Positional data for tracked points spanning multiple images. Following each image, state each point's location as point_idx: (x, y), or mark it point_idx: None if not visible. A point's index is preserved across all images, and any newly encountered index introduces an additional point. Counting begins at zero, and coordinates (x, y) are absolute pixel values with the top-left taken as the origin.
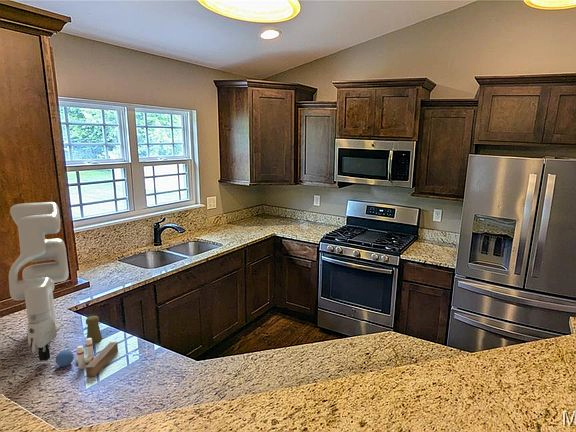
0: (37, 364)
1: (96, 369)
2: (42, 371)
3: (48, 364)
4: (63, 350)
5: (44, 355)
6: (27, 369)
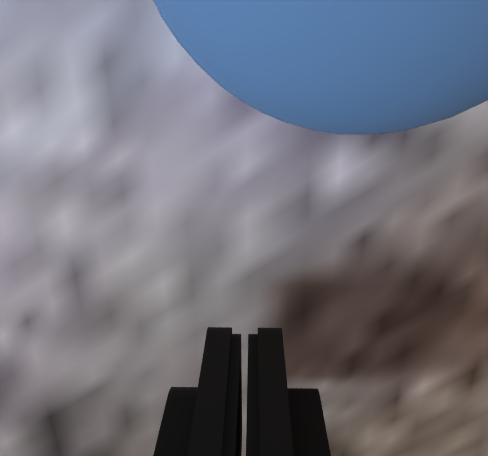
0: None
1: None
2: (485, 244)
3: (286, 274)
4: None
5: (302, 435)
6: (397, 449)
